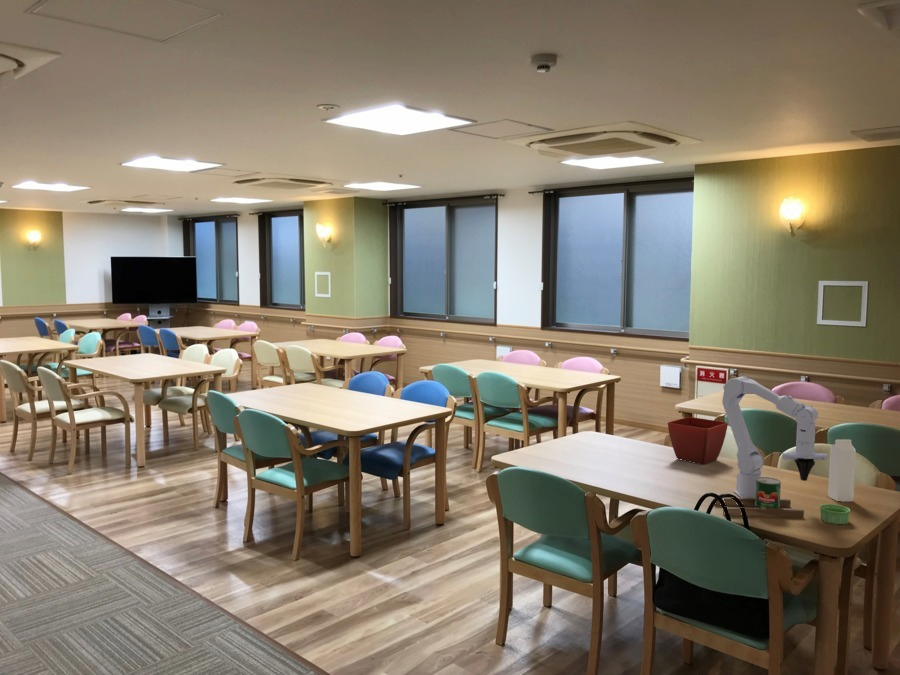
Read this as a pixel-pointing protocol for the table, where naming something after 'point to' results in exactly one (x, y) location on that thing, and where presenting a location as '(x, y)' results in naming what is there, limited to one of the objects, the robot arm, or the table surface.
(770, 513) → the beam channel
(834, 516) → the ramekin
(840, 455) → the milk
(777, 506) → the canned tomato
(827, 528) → the table surface
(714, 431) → the plant pot
